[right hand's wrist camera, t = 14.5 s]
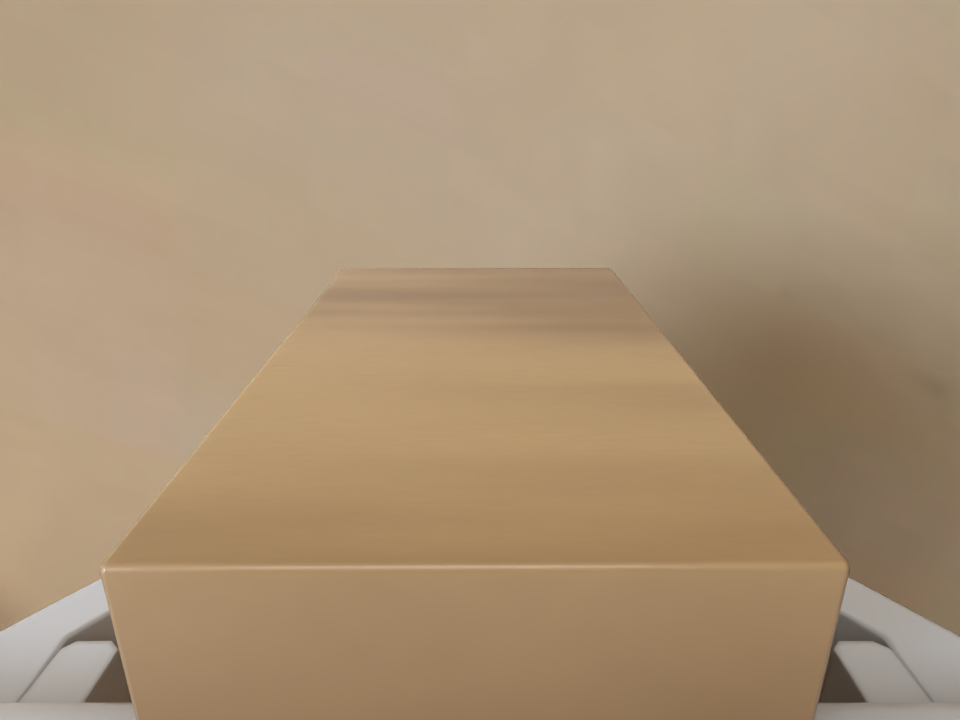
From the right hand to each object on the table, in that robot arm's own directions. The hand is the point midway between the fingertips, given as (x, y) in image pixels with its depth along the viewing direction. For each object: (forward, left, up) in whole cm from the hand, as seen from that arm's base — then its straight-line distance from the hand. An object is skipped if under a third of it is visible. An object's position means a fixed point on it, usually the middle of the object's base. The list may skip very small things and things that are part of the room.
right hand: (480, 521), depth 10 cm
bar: (+9, -4, -3) cm, 11 cm away
